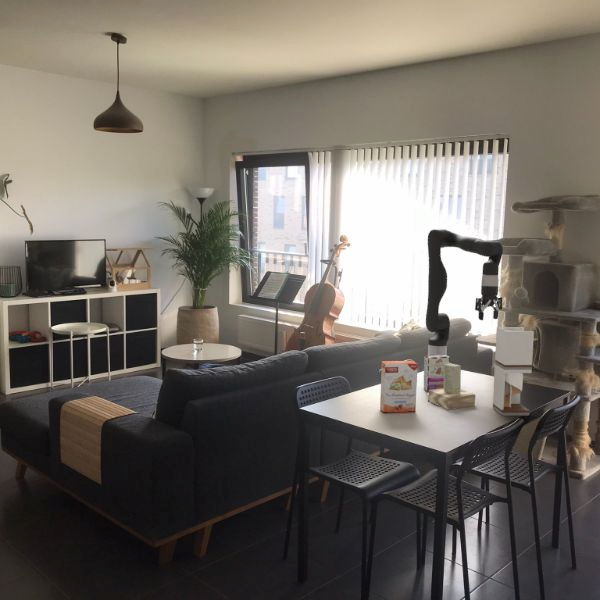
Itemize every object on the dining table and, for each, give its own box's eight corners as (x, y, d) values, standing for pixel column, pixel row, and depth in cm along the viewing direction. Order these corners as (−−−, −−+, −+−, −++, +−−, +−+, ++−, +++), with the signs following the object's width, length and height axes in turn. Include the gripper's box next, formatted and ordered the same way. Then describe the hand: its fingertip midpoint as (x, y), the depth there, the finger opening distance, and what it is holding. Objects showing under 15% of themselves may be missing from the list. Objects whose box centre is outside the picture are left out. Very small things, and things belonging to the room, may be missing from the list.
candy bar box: (444, 388, 305) (445, 354, 303) (449, 390, 300) (450, 356, 298) (422, 389, 302) (423, 355, 300) (427, 392, 297) (428, 357, 295)
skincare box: (460, 392, 277) (461, 365, 275) (453, 394, 274) (454, 366, 273) (449, 389, 282) (450, 362, 281) (442, 391, 280) (443, 363, 278)
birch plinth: (428, 401, 282) (428, 390, 281) (453, 397, 288) (454, 386, 287) (448, 409, 269) (449, 397, 269) (474, 405, 275) (475, 394, 275)
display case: (502, 415, 262) (506, 331, 257) (492, 408, 272) (496, 327, 268) (529, 415, 262) (533, 331, 258) (518, 407, 273) (523, 327, 269)
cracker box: (383, 413, 262) (385, 363, 260) (379, 409, 268) (381, 360, 266) (416, 412, 265) (418, 363, 262) (411, 408, 270) (413, 360, 268)
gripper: (495, 283, 300) (494, 317, 302) (472, 284, 294) (470, 319, 296) (507, 284, 293) (505, 319, 295) (483, 285, 287) (481, 321, 289)
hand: (488, 319), depth 296 cm, fingers open, 8 cm apart
